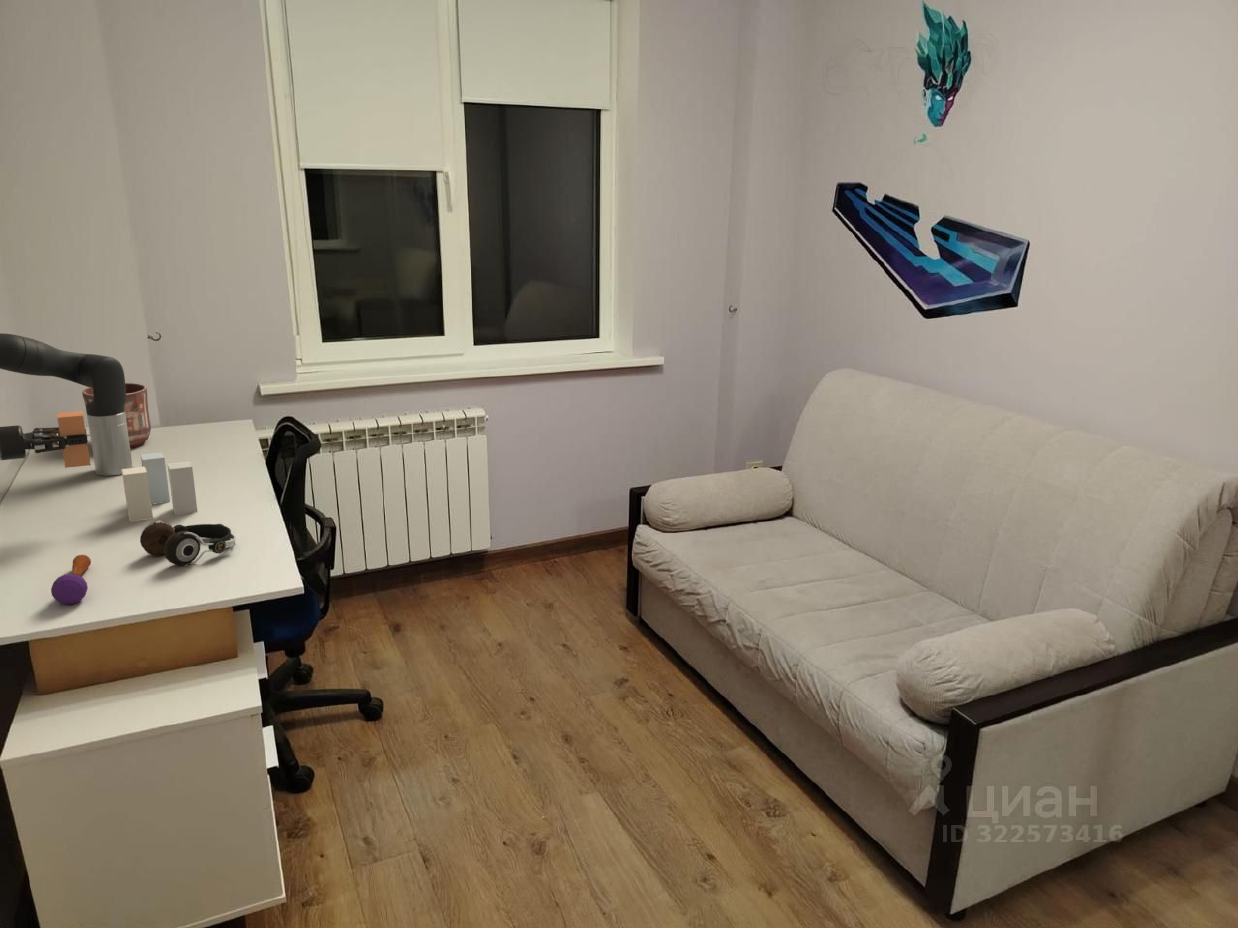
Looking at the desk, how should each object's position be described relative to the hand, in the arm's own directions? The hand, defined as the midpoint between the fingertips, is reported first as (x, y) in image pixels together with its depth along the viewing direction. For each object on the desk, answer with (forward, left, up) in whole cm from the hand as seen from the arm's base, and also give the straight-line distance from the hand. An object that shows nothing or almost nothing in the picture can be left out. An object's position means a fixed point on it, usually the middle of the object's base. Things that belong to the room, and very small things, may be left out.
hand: (86, 435), depth 200 cm
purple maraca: (+37, -6, -22) cm, 44 cm away
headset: (+28, +17, -22) cm, 40 cm away
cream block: (0, +9, -22) cm, 24 cm away
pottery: (-70, +10, -22) cm, 74 cm away
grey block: (0, +19, -22) cm, 29 cm away
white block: (-11, +14, -22) cm, 28 cm away
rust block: (0, -3, -6) cm, 7 cm away
